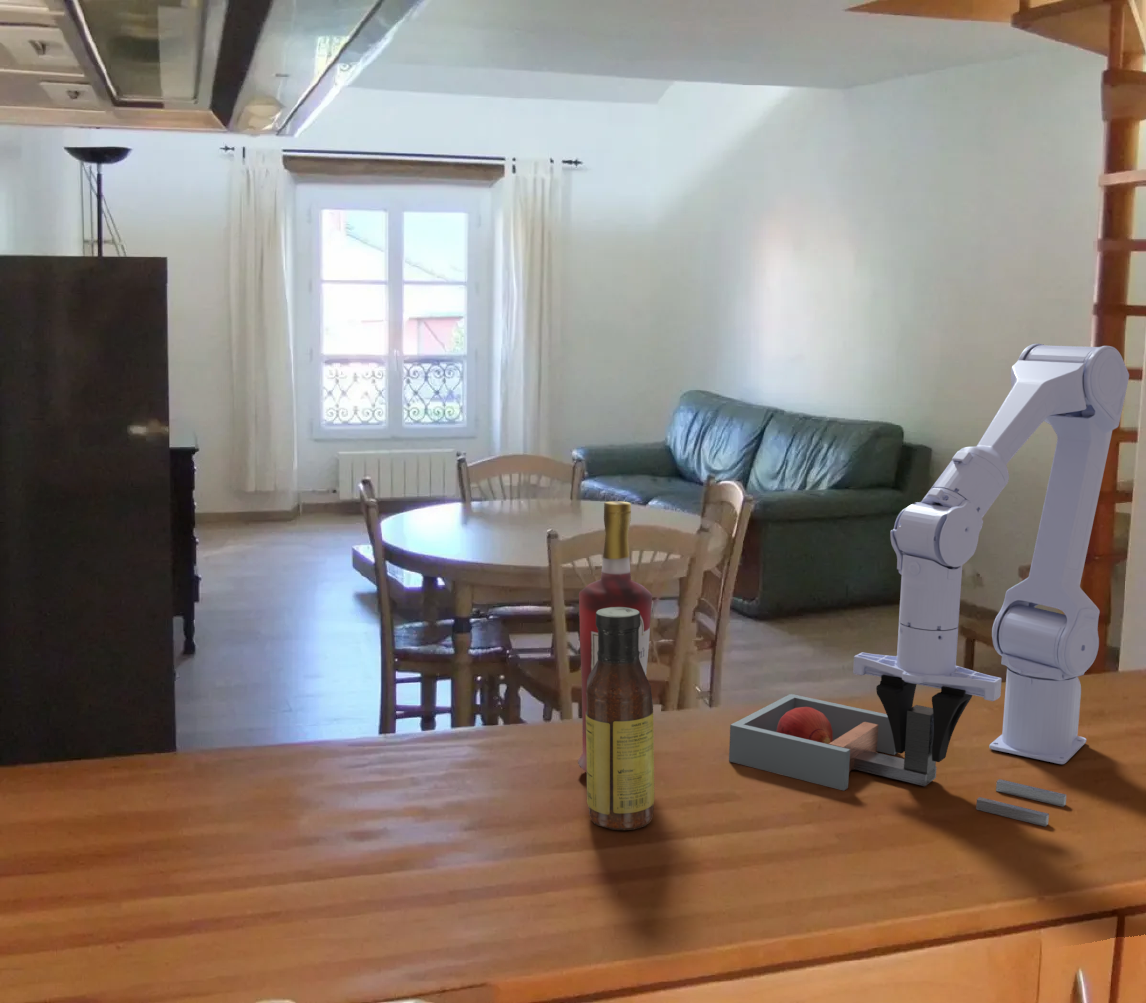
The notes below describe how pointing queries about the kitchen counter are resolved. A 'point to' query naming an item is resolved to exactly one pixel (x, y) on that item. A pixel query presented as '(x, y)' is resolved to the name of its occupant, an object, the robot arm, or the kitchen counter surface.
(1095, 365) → the robot arm
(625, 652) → the sauce bottle
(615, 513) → the liquor
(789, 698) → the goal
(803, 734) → the onion
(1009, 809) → the rail
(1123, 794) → the kitchen counter surface
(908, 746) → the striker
